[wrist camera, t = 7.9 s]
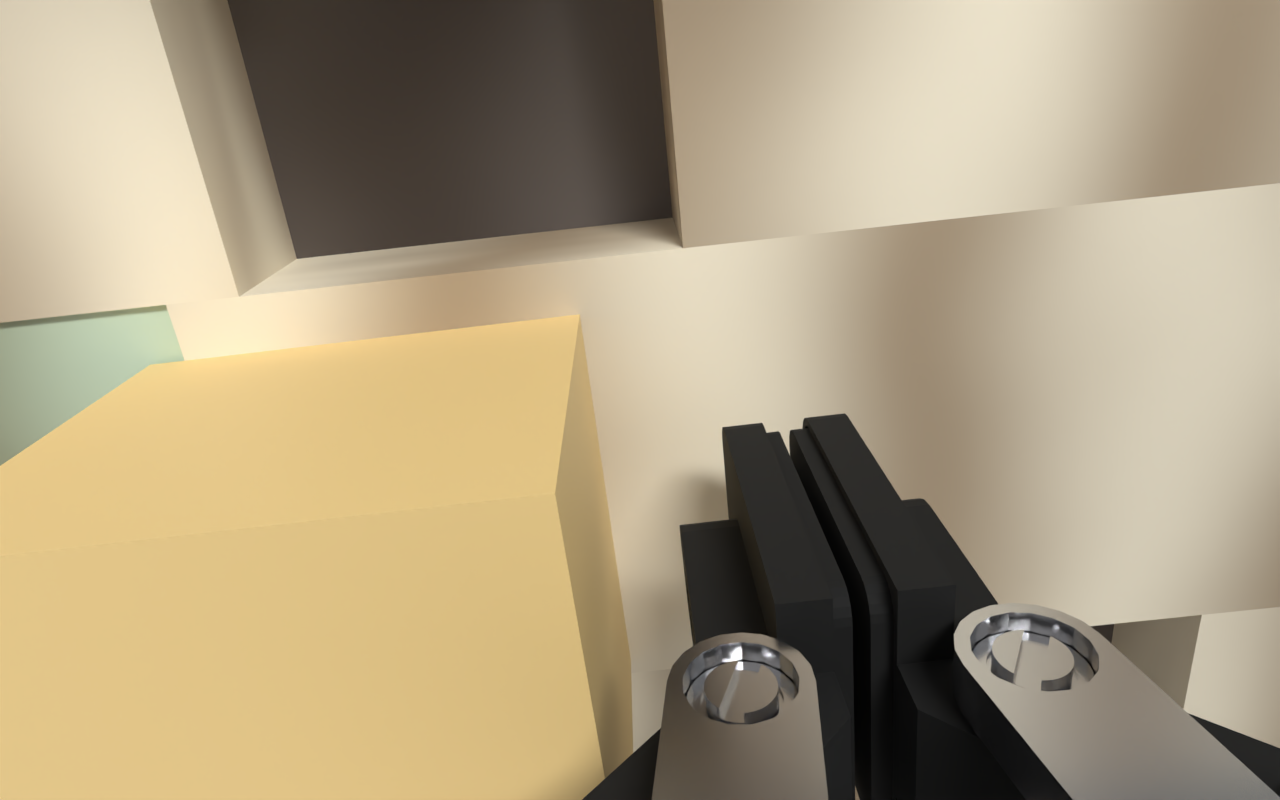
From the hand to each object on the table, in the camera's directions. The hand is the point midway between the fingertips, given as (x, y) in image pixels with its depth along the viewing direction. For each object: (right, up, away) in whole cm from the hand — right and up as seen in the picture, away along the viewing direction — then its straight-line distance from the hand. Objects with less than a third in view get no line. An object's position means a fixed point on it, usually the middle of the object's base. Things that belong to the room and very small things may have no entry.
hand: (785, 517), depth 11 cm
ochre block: (-6, 0, +1) cm, 6 cm away
